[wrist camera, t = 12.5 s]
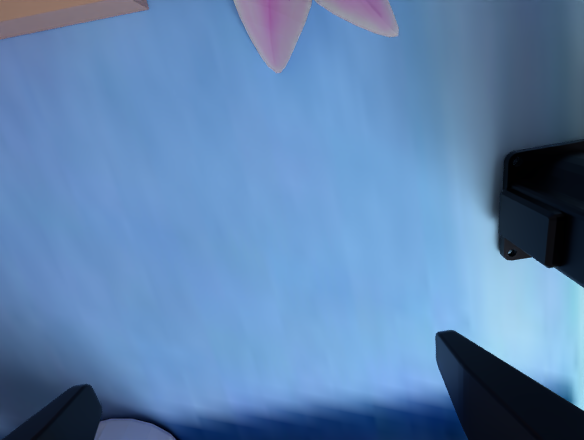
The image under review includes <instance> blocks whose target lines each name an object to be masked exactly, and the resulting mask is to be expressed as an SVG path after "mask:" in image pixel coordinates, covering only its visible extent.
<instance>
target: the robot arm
mask: <svg viewBox="0 0 584 440" xmlns="http://www.w3.org/2000/svg"><path fill="white" fill-rule="evenodd" d="M517 157H518V162H517V163H516V164H514V165H513V161H514V159H515V158H517ZM499 234H500V235H501V238H500V254H501V255H502V256H503V257H504V258H505V259H507V260H518V259H524V258H530V257H533V258H534V259H536V260H537V261H539V262H540V263H541V264H543V265H544V266H546V267H547V268H556V269H557V270H559V271H560V272H561V273H563V274H564V275H566V276H567V277H569V278H570V279H572V280H573V281H575V282H576V283H578V284H579V285H580V286H582V287H583V288H584V139H582V140H576V141H570V142H564V143H558V144H552V145H547V146H541V147H535V148H529V149H523V150H517V151H513V152H510V153H509V154H508V155H507V156H506V157H505V160H504V172H503V191H502V192H501V194H500V211H499ZM511 249H513V250H512V252H511V253H509V254H508V252H509V251H510V250H511ZM435 341H436V361H437V365H438V368H439V370H440V373H441V375H442V378H443V380H444V383H445V385H446V388H447V390H448V393H449V395H450V398H451V400H452V403H453V405H454V408H455V410H456V413H457V415H458V418H459V420H460V423H461V425H462V427H463V430H464V432H465V434H466V436H467V438H468V440H584V411H583V410H581V409H580V408H578V407H577V406H575V405H573V404H572V403H570V402H569V401H567V400H565V399H564V398H562V397H561V396H559V395H557V394H556V393H554V392H552V391H551V390H549V389H548V388H546V387H544V386H543V385H541V384H540V383H538V382H536V381H535V380H533V379H531V378H530V377H528V376H527V375H525V374H523V373H522V372H520V371H519V370H517V369H515V368H514V367H512V366H511V365H509V364H507V363H506V362H504V361H502V360H501V359H499V358H498V357H496V356H494V355H493V354H491V353H490V352H488V351H486V350H485V349H483V348H482V347H480V346H478V345H477V344H475V343H473V342H472V341H470V340H469V339H467V338H465V337H464V336H462V335H461V334H459V333H457V332H456V331H453V330H447V331H440V332H437V333H436V336H435ZM101 416H102V406H101V404H100V402H99V400H98V398H97V396H96V394H95V392H94V390H93V388H92V386H90V385H89V384H83V385H76V386H73V387H71V388H69V389H68V390H67V391H65V392H64V393H63V394H61V395H60V396H59V397H57V398H56V399H55V400H53V401H52V402H51V403H49V404H48V405H47V406H45V407H44V408H43V409H42V410H40V411H39V412H38V413H36V414H35V415H34V416H32V417H31V418H30V419H28V420H27V421H26V422H24V423H23V424H22V425H20V426H19V427H18V428H16V429H15V430H14V431H13V432H11V433H10V434H9V435H7V436H6V437H5V438H3V439H2V440H94V438H95V435H96V432H97V429H98V426H99V423H100V420H101Z"/></svg>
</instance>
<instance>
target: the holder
mask: <svg viewBox="0 0 584 440" xmlns="http://www.w3.org/2000/svg"><path fill="white" fill-rule="evenodd" d="M148 9H149V7H148V4H147V0H0V39H5V38H10V37H15V36H20V35H25V34H30V33H35V32H40V31H45V30H49V29H54V28H59V27H64V26H69V25H74V24H79V23H84V22H89V21H94V20H99V19H104V18H109V17H114V16H119V15H124V14H128V13H133V12H138V11H143V10H148Z"/></svg>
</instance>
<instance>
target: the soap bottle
mask: <svg viewBox="0 0 584 440" xmlns="http://www.w3.org/2000/svg"><path fill="white" fill-rule="evenodd" d="M94 440H176V439H175V438H174V437H173V436H172V435H171V434H170V433H169V432H167V431H165V430H163V429H161V428H159V427H158V426H156V425H154V424H151V423H147V422H143V421H139V420H135V419H107V420H104V421H100V423H99V426H98V429H97V432H96V435H95V438H94Z"/></svg>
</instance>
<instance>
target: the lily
mask: <svg viewBox="0 0 584 440" xmlns="http://www.w3.org/2000/svg"><path fill="white" fill-rule="evenodd" d="M233 1H234V3H235V6H236V8H237V11H238V13H239V16H240V19H241V21H242V23H243V25H244V27H245V29H246V31H247V33H248V35H249V37H250V39H251V41H252V42H253V44H254V46H255V47H256V49H257V51H258V53H259V54H260V56H261V58H262V59H263V60H264V62H265V63H266V64H267V66H268V67H269V68H271V69H272V70H273V71H274V72H276V73H281V72H282V70H283V69H284V68H285V67H286V65H287V63H288V61H289V59H290V57H291V54H292V52H293V50H294V47H295V45H296V43H297V41H298V38H299V36H300V34H301V32H302V29H303V27H304V25H305V22H306V19H307V16H308V13H309V10H310V7H311V3H312V0H233ZM315 1H316V2H317V3H318V4H319V5H321V6H322V7H324V8H325V9H327V10H328V11H330V12H331V13H333V14H334V15H336V16H338V17H340V18H342V19H344V20H346V21H348V22H350V23H352V24H354V25H356V26H358V27H361V28H363V29H366V30H368V31H371V32H373V33H376V34H379V35H383V36H387V37H395V36H398V32H399V28H398V25H397V22H396V19H395V16H394V13H393V11H392V8H391V6H390V3H389V1H388V0H315Z"/></svg>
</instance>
